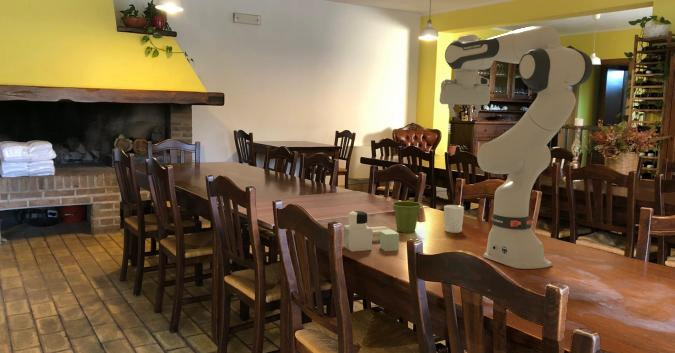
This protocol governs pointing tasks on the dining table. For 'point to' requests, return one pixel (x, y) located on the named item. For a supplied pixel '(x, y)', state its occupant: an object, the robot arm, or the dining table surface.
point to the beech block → (378, 232)
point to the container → (357, 232)
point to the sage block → (389, 240)
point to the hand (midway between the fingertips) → (464, 116)
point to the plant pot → (406, 215)
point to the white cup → (453, 218)
